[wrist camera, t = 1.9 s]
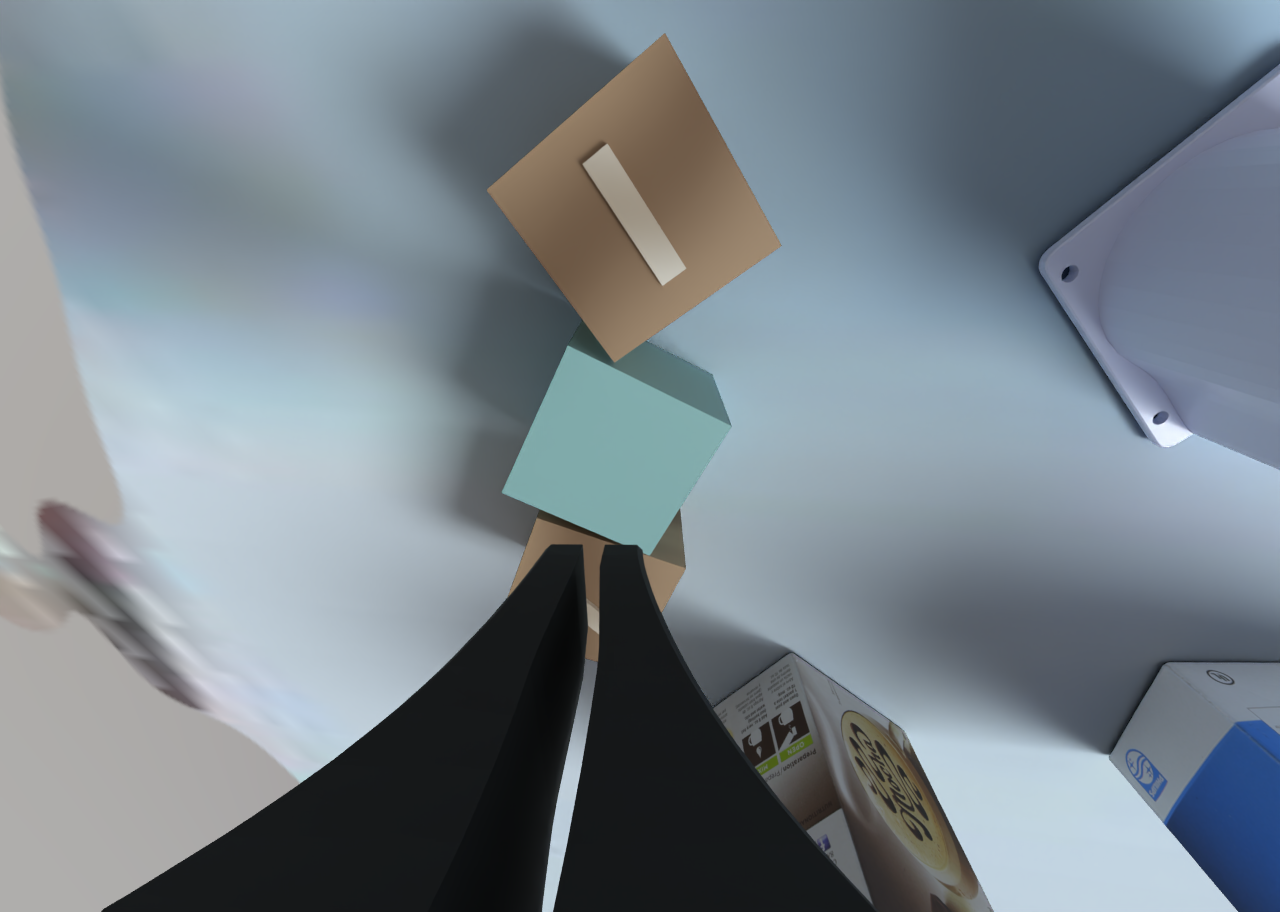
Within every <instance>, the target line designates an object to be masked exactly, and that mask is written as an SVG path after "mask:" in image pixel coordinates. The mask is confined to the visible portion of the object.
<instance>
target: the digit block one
mask: <svg viewBox="0 0 1280 912" xmlns="http://www.w3.org/2000/svg"><path fill="white" fill-rule="evenodd" d="M487 191H488V193H489V194H490V195H491V197H492V198H493V199H494V201H495V202H496V204H497V205H498V206H499V208H500V209H501V210H502V212H503V213H504V214H505V216H506V217H507V218H508V220H509V221H510V222H511V224H512V225H513V226H514V228H515V229H516V231H517V232H518V233H519V235H520V236H521V237H522V239H523V240H524V241H525V243H526V244H527V245H528V247H529V248H530V249H531V251H532V252H533V254H534V255H535V256H536V258H537V259H538V260H539V262H540V263H541V264H542V266H543V267H544V268H545V270H546V271H547V272H548V274H549V275H550V276H551V278H552V279H553V281H554V282H555V283H556V285H557V286H558V287H559V289H560V290H561V291H562V293H563V294H564V295H565V297H566V298H567V299H568V301H569V302H570V303H571V305H572V306H573V308H574V309H575V310H576V312H577V313H578V314H579V316H580V317H581V318H582V320H583V321H584V322H585V324H586V325H587V326H588V328H589V329H590V330H591V332H592V333H593V335H594V336H595V337H596V339H597V340H598V341H599V343H600V344H601V345H602V347H603V348H604V349H605V351H606V352H607V353H608V355H609V356H610V357H611V359H612V360H613V362H614V363H615V362H616V361H618V360H619V359H620V358H622V357H623V356H625V355H626V354H628V353H629V352H630V351H632V350H633V349H635V348H636V347H638V346H639V345H640V344H642V343H643V342H645V341H646V340H648V339H649V338H650V337H652V336H653V335H655V334H656V333H658V332H659V331H660V330H662V329H663V328H665V327H666V326H668V325H669V324H670V323H672V322H673V321H675V320H676V319H678V318H679V317H680V316H682V315H683V314H685V313H686V312H688V311H689V310H690V309H692V308H693V307H695V306H696V305H698V304H699V303H700V302H702V301H703V300H705V299H706V298H708V297H709V296H710V295H712V294H713V293H715V292H716V291H718V290H719V289H721V288H722V287H723V286H725V285H726V284H728V283H729V282H731V281H732V280H733V279H735V278H736V277H738V276H739V275H741V274H742V273H743V272H745V271H746V270H748V269H749V268H751V267H752V266H753V265H755V264H756V263H758V262H759V261H761V260H762V259H763V258H765V257H766V256H768V255H769V254H771V253H772V252H773V251H775V250H776V249H778V248H779V247H781V246H782V245H781V244H780V242H779V240H778V238H777V236H776V234H775V233H774V231H773V229H772V227H771V225H770V224H769V222H768V220H767V218H766V216H765V214H764V213H763V211H762V209H761V207H760V205H759V203H758V202H757V200H756V198H755V196H754V194H753V193H752V191H751V189H750V187H749V185H748V183H747V182H746V180H745V178H744V176H743V174H742V173H741V171H740V169H739V167H738V165H737V163H736V162H735V160H734V158H733V156H732V154H731V152H730V151H729V149H728V147H727V145H726V143H725V142H724V140H723V138H722V136H721V134H720V132H719V131H718V129H717V127H716V125H715V123H714V121H713V120H712V118H711V116H710V114H709V112H708V111H707V109H706V107H705V105H704V103H703V101H702V100H701V98H700V96H699V94H698V92H697V91H696V89H695V87H694V85H693V83H692V81H691V80H690V78H689V76H688V74H687V72H686V70H685V69H684V67H683V65H682V63H681V61H680V60H679V58H678V56H677V54H676V52H675V50H674V49H673V47H672V45H671V43H670V41H669V39H668V38H667V36H666V34H665V33H664V34H663V35H662V36H661V37H660V38H659V39H658V40H656V41H655V42H654V43H653V44H652V45H651V46H650V47H648V48H647V49H646V50H645V51H644V52H643V53H642V54H641V55H639V56H638V57H637V58H636V59H635V60H634V61H633V62H631V63H630V64H629V65H628V66H627V67H626V68H625V69H623V70H622V71H621V72H620V73H619V74H618V75H617V76H615V77H614V78H613V79H612V80H611V81H610V82H609V83H608V84H606V85H605V86H604V87H603V88H602V89H601V90H600V91H598V92H597V93H596V94H595V95H594V96H593V97H592V98H590V99H589V100H588V101H587V102H586V103H585V104H584V105H582V106H581V107H580V108H579V109H578V110H577V111H576V112H574V113H573V114H572V115H571V116H570V117H569V118H568V119H567V120H565V121H564V122H563V123H562V124H561V125H560V126H559V127H557V128H556V129H555V130H554V131H553V132H552V133H551V134H549V135H548V136H547V137H546V138H545V139H544V140H543V141H541V142H540V143H539V144H538V145H537V146H536V147H535V148H534V149H532V150H531V151H530V152H529V153H528V154H527V155H526V156H524V157H523V158H522V159H521V160H520V161H519V162H518V163H516V164H515V165H514V166H513V167H512V168H511V169H510V170H508V171H507V172H506V173H505V174H504V175H503V176H502V177H500V178H499V179H498V180H497V181H496V182H495V183H494V184H493V185H491V186H490V187H489V188H488V189H487Z"/></svg>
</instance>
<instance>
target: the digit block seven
mask: <svg viewBox="0 0 1280 912" xmlns="http://www.w3.org/2000/svg"><path fill="white" fill-rule="evenodd" d="M551 544H583V554H584V570H585V585H586V601H587V616H588V633H587V644H586V654H585V658H586V659H589V660H593V661H596V662H598V653H599V578H600V563H601V558H602V554H603V550H604V546H605V545H623V544H621V543H618V542H616V541H614V540H611V539H609V538H607V537H604V536H602V535H599V534H597V533H595V532H592V531H590V530H588V529H585V528H583V527H581V526H578V525H576V524H574V523H571V522H569V521H567V520H564V519H562V518H559V517H557V516H555V515H552V514H550V513H548V512H545V511H543V510H541V509H540V510H539V513H538V516H537V518H536V521H535V524H534V526H533V529H532V532H531V535H530V537H529V540H528V543H527V545H526V548H525V551H524V554H523V556H522V559H521V562H520V565H519V567H518V570H517V573H516V576H515V578H514V581H513V584H512V587H511V589H510V592H509V595H510V594H511V593H512V592H513V591H514V589H515V588H516V587H517V586H518V585H519V583H520V582H521V581H522V580H523V578H524V577H525V576H526V574H527V573H528V572H529V571H530V569H531V568H532V567H533V565H534V564H535V563H536V561H537V560H538V559H539V558H540V556H541V555H542V554H543V552H544V551H545V549H546V548H548V547H549V546H550V545H551ZM643 559H644V564H645V569H646V572H647V576H648V579H649V582H650V585H651V588H652V591H653V594H654V596H655V599H656V602H657V604H658V606H659V609H660V611H661V613H662V611H663V609H664V608H665V606H666V604H667V602H668V600H669V598H670V597H671V595H672V593H673V591H674V589H675V587H676V586H677V584H678V582H679V580H680V578H681V576H682V575H683V573H684V571H685V569H686V565H685V555H684V544H683V534H682V524H681V513H680V509H679V510H678V512H677V513H676V515H675V517H674V518H673V520H672V521H671V523H670V525H669V526H668V528H667V529H666V531H665V532H664V534H663V536H662V537H661V539H660V540H659V542H658V543H657V545H656V547H655V548H654V550H653V551H652V553H651V554H650V556H649V555H647V554H644V553H643ZM509 595H508V597H509Z"/></svg>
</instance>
